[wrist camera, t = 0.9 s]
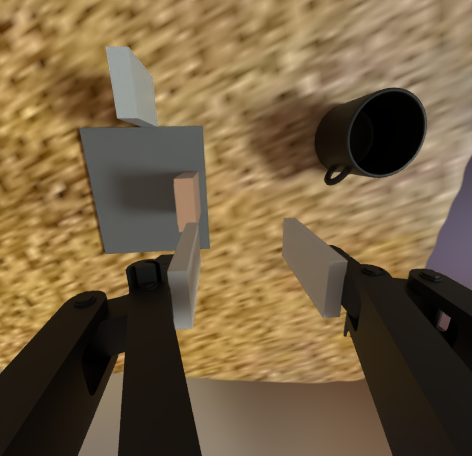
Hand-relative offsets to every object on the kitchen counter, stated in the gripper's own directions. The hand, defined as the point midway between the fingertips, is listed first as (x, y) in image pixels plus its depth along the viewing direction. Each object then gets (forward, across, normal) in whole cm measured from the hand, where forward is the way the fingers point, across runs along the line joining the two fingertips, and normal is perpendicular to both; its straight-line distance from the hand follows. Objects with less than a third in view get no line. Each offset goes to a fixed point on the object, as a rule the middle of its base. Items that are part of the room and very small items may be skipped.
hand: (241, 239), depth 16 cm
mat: (+21, -11, 0) cm, 24 cm away
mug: (+21, +17, +6) cm, 28 cm away
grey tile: (+21, -10, +12) cm, 26 cm away
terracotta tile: (+20, -5, 0) cm, 21 cm away
